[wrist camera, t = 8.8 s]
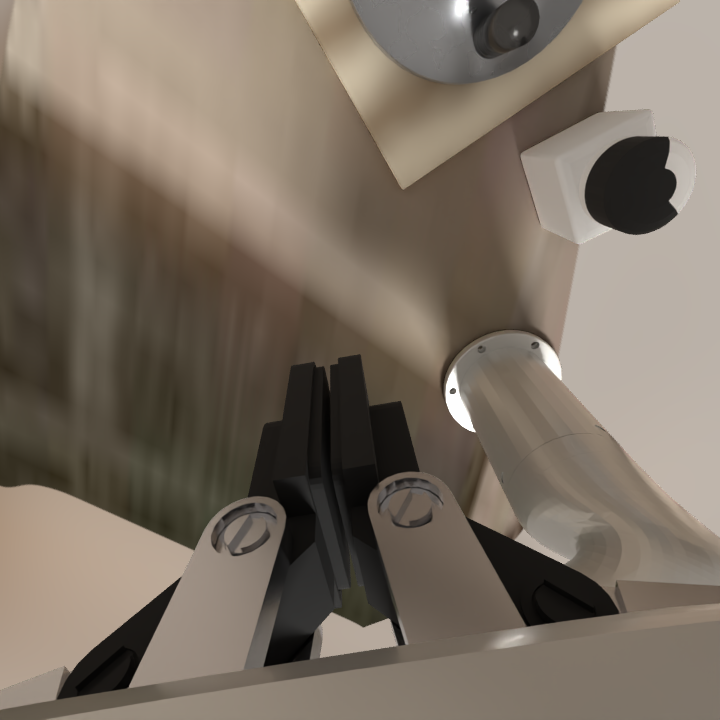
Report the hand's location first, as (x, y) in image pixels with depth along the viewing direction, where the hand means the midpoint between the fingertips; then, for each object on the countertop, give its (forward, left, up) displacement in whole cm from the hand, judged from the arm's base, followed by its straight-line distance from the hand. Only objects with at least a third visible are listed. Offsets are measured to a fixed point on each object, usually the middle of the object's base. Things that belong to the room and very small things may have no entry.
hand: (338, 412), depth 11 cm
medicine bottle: (-9, -19, -32) cm, 39 cm away
